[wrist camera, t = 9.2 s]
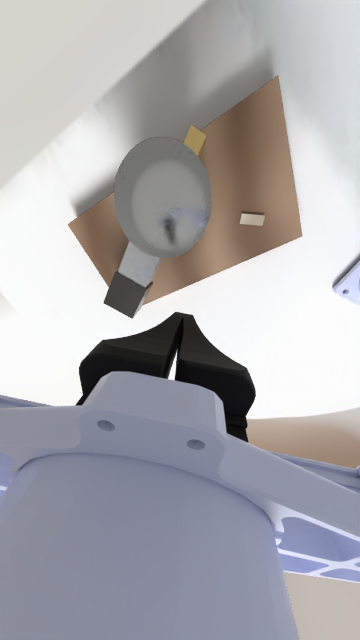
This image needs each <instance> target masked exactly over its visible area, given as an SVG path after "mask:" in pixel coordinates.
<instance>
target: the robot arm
mask: <svg viewBox="0 0 360 640" xmlns="http://www.w3.org/2000/svg"><path fill="white" fill-rule="evenodd" d="M345 289H346V291H345V292H344V293H343V291H344V290H345ZM333 292H334V293H336V294H338V295H340V296H341V297H343V298H345V299H347V300H349V301H351V302H353V303H355V304H356V305H358V306H360V261H359V262H358V263H357V264H356V265H355V266H354V267H353V268H352V269H351V270H350V271H349V272H348V273H347V274H346V275H345V276H344V277H343V278H342V279H341V281H340V282H339V283H338V284H337V285H336V286H335V287H334V289H333ZM176 352H177V361H176V374H175V381H174V380H169V379H168V376H169V373H170V370H171V367H172V364H173V361H174V358H175V355H176ZM79 375H80V381H81V386H82V391H83V396H82V397H81V399H80V400H79V401H78V403H77V404H76V405H75V406H50V405H46V404H41V403H36V402H31V401H27V400H22V399H17V398H12V397H8V396H3V395H0V640H299V636H298V632H297V629H296V624H295V620H294V616H293V611H292V607H291V603H290V599H289V595H288V590H287V586H286V582H285V578H284V574H283V572H289V573H296V574H303V575H309V576H316V577H323V578H330V579H337V580H343V581H349V582H355V583H360V465H359V466H358V467H357V469H353V468H348V467H343V466H338V465H333V464H328V463H324V462H319V461H314V460H309V459H304V458H299V457H295V456H290V455H285V454H280V453H276V452H271V451H266V450H263V449H260V448H258V447H256V446H254V445H252V444H249V443H248V438H247V434H246V429H245V428H247V420H246V415H247V413H248V411H249V409H250V407H251V406H252V404H253V402H254V399H255V396H256V393H255V387H254V385H253V382H252V379H251V376H250V374H249V372H248V370H247V368H246V367H244V366H242V365H241V364H239V363H237V362H235V361H233V360H232V359H230V358H229V357H227V356H226V355H224V354H223V353H222V352H220V351H219V350H218V349H217V348H216V347H215V346H213V345H212V344H211V343H210V342H209V341H208V339H207V338H206V337H205V336H204V335H203V333H202V332H201V330H200V328H199V327H198V325H197V323H196V321H195V319H194V316H193V315H190V314H184V313H179V312H175V313H173V314H172V315H171V316H170V317H169V318H167V319H166V320H165V321H163V322H162V323H160V324H159V325H157V326H156V327H154V328H152V329H149V330H147V331H144V332H141V333H138V334H135V335H132V336H127V337H122V338H116V339H108V340H102V341H101V342H100V343H99V344H98V345H97V346H96V347H95V348H94V349H93V350H92V351H91V352H90V353H89V354H88V355H87V356H86V358H85V359H84V360H83V361H82V362H81V364H80V367H79Z"/></svg>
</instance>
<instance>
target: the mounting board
mask: <svg viewBox="0 0 360 640" xmlns="http://www.w3.org/2000/svg"><path fill="white" fill-rule="evenodd" d="M200 131H201V132H202V133H203V134H204V135H206V145H205V147H204V150H203V152H202V154H201V156H200V158H199V159H200V160H201V162H202V164H203V165H204V167H205V170H206V172H207V175H208V178H209V181H210V185H211V192H212V207H211V214H210V218H209V222H208V224H207V227H206V229H205V231H204V233H203V235H202V236H201V238H200V239H199V241H198V242H197V243H196V244H195V245H194V246H193V247H192V248H191V249H189V250H188V251H186V252H185V253H183V254H181V255H178V256H175V257H171V258H163V260H162V262H161V264H160V267H159V269H158V271H157V273H156V275H155V277H154V279H153V281H152V282H154V283H153V285H152V287H151V289H150V291H149V293H148V295H147V297H146V299H145V301H144V303H143V305H145V304H147V303H149V302H151V301H154V300H156V299H158V298H161V297H163V296H165V295H168V294H170V293H172V292H175V291H177V290H179V289H182V288H184V287H186V286H188V285H191V284H193V283H195V282H198V281H200V280H202V279H205V278H207V277H209V276H212V275H214V274H216V273H218V272H221V271H223V270H225V269H228V268H230V267H232V266H235V265H237V264H239V263H242V262H244V261H246V260H249V259H251V258H253V257H255V256H258V255H260V254H262V253H265V252H267V251H269V250H272V249H274V248H276V247H279V246H281V245H283V244H285V243H288V242H290V241H292V240H295V239H297V238H299V237H302V230H301V223H300V217H299V210H298V204H297V197H296V190H295V184H294V177H293V170H292V164H291V157H290V151H289V144H288V137H287V131H286V124H285V118H284V111H283V104H282V98H281V91H280V84H279V78H278V76H277V77H275V78H274V79H272V80H271V81H269V82H268V83H267V84H265V85H264V86H262V87H261V88H260V89H258V90H257V91H255V92H254V93H253V94H251V95H250V96H248V97H247V98H245V99H244V100H243V101H241V102H240V103H238V104H237V105H236V106H234V107H233V108H231V109H230V110H228V111H227V112H226V113H224V114H223V115H221V116H220V117H219V118H217V119H216V120H214V121H213V122H212V123H210V124H209V125H207V126H206V127H204V128H203V129H202V130H200ZM68 226H69V227H70V229H71V230H72V232H73V233H74V235H75V236H76V238H77V239H78V241H79V242H80V244H81V245H82V247H83V249H84V250H85V252H86V253H87V255H88V256H89V258H90V259H91V261H92V262H93V264H94V265H95V267H96V268H97V270H98V271H99V273H100V274H101V276H102V278H103V279H104V281H105V282H106V284H107V285H108V287H109V286H110V284H111V281H112V278H113V276H114V273H115V272H116V271H118V270H119V267H120V265H121V262H122V259H123V257H124V254H125V251H126V249H127V246H128V243H129V241H130V240H129V239H128V238H127V237H126V235H125V234H124V232H123V230H122V228H121V226H120V224H119V222H118V219H117V215H116V211H115V206H114V192H113V193H111V194H110V195H108V196H107V197H106V198H104V199H103V200H101V201H100V202H98V203H97V204H96V205H94V206H93V207H91V208H90V209H89V210H87V211H86V212H84V213H83V214H82V215H80V216H79V217H77V218H76V219H74V220H73V221H72V222H70V223H69V224H68Z"/></svg>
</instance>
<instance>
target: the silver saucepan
mask: <svg viewBox="0 0 360 640" xmlns="http://www.w3.org/2000/svg"><path fill="white" fill-rule="evenodd" d="M205 145H206V135H204V134H203V133H202V132H201V131H199V130H198V129H197V128H195V127H194V126H193V125H192V124H191V125H190V128H189V130H188V133H187V135H186V138H185V140H184V142H183V143H182V142H180V141H177V140H175V139H172V138H167V137H155V138H150V139H148V140H145V141H143V142H141V143H139V144H138V145H136V146H135V147H134V148H133V149H132V150H131V151H130V152H129V153H128V154H127V155H126V157H125V158H124V160H123V161H122V163H121V165H120V167H119V170H118V173H117V175H116V180H115V185H114V206H115V211H116V215H117V219H118V222H119V224H120V226H121V228H122V230H123V232H124V234H125V235H126V237H127V238H128V239H129V240H130V241H129V243H128V246H127V249H126V251H125V254H124V257H123V259H122V262H121V265H120V267H119V270H118V271H116V272H115V273H114V276H113V278H112V281H111V284H110V286H109V289H108V292H107V295H106V297H105V300H104V304H106V305H108V306H110V307H112V308H114V309H116V310H117V311H119V312H121V313H123V314H125V315H127V316H128V317H130V318H133V317H134V316H135V315H136V313H137V312H138V311H139V310H140V308H141V307H142V305H143V303H144V301H145V299H146V297H147V295H148V293H149V291H150V289H151V287H152V285H153V283H154V282H152V281H153V279H154V277H155V275H156V273H157V271H158V269H159V267H160V264H161V262H162V260H163V258H171V257H175V256H178V255H181V254H183V253H185V252H186V251H188V250H189V249H191V248H192V247H193V246H194V245H195V244H196V243H197V242H198V241H199V239H200V238H201V236H202V235H203V233H204V231H205V229H206V227H207V224H208V222H209V218H210V214H211V207H212V192H211V185H210V181H209V178H208V175H207V172H206V170H205V167H204V165H203V164H202V162H201V160H200V159H199V158H200V156H201V154H202V152H203V150H204V147H205Z"/></svg>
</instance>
